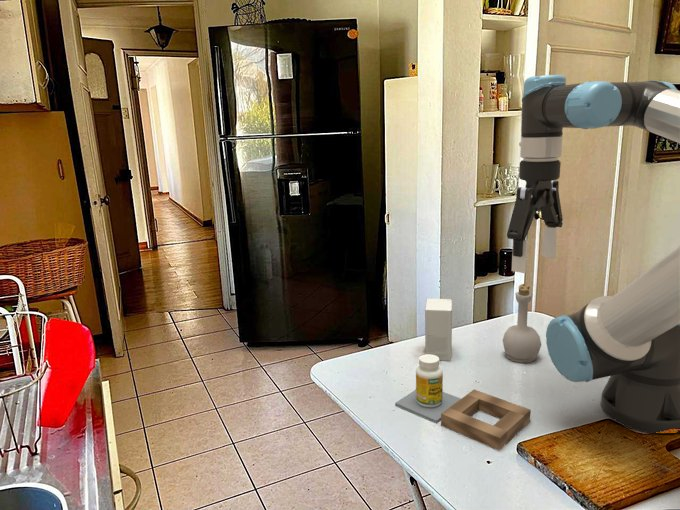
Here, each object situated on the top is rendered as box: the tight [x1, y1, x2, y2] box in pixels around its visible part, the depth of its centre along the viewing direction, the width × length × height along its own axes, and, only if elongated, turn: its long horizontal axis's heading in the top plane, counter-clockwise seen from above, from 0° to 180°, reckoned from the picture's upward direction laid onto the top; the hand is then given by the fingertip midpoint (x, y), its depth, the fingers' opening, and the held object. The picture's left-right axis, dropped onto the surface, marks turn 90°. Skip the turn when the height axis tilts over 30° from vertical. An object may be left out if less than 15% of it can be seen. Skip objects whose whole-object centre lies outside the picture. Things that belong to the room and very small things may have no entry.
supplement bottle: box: [415, 354, 444, 407], centre depth 106 cm, size 5×5×10 cm
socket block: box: [440, 389, 532, 451], centre depth 99 cm, size 12×12×2 cm
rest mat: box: [394, 389, 462, 424], centre depth 107 cm, size 10×10×1 cm
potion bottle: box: [502, 283, 542, 364], centre depth 124 cm, size 9×9×18 cm
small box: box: [424, 298, 453, 362], centre depth 128 cm, size 8×6×13 cm
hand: (534, 264), depth 107 cm, fingers open, 13 cm apart
